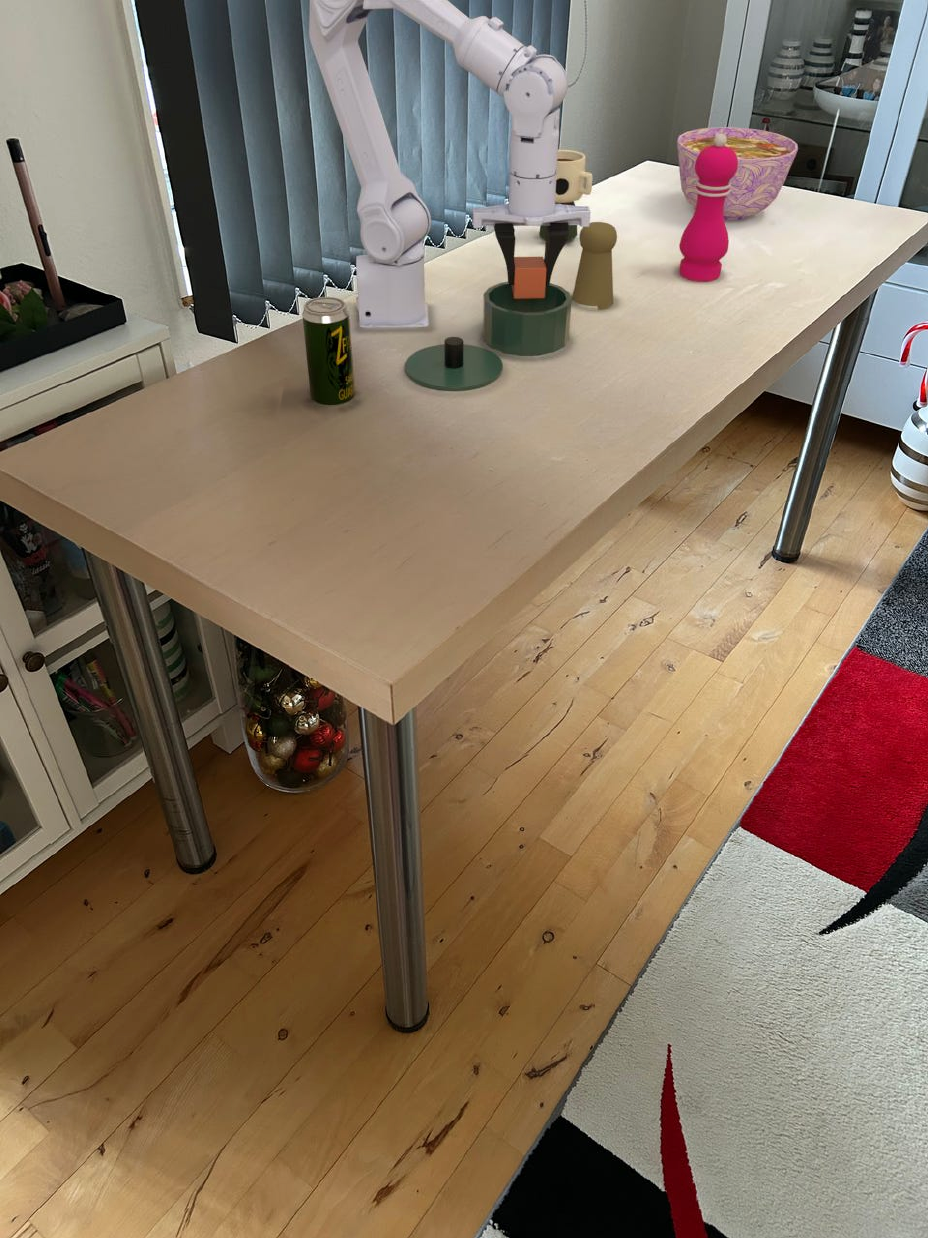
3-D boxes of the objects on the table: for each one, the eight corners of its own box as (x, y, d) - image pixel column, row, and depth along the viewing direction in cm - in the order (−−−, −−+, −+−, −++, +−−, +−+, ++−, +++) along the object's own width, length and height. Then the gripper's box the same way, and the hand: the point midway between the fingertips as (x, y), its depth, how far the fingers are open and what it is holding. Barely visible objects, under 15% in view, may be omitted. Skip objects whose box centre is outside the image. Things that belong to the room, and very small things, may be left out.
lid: (405, 396, 123) (404, 363, 121) (405, 351, 133) (404, 320, 130) (506, 394, 124) (507, 361, 121) (498, 350, 133) (499, 319, 131)
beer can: (303, 407, 121) (293, 311, 113) (321, 387, 125) (312, 293, 117) (345, 413, 120) (337, 317, 112) (362, 393, 124) (355, 299, 116)
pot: (485, 360, 131) (486, 314, 127) (480, 324, 140) (481, 280, 136) (572, 358, 132) (576, 313, 128) (562, 322, 140) (565, 279, 136)
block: (514, 298, 130) (515, 268, 127) (511, 286, 133) (512, 256, 130) (544, 298, 130) (546, 267, 127) (541, 286, 133) (543, 256, 130)
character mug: (518, 238, 166) (521, 154, 158) (541, 226, 171) (545, 144, 162) (575, 252, 161) (582, 166, 153) (597, 239, 166) (604, 155, 157)
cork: (611, 311, 143) (619, 233, 136) (569, 307, 144) (575, 230, 137) (615, 295, 148) (622, 218, 141) (574, 291, 149) (580, 215, 142)
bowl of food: (650, 199, 182) (658, 130, 175) (752, 191, 186) (764, 123, 178) (696, 236, 167) (707, 162, 160) (805, 227, 171) (821, 154, 163)
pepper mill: (670, 278, 153) (690, 137, 140) (681, 262, 158) (701, 124, 145) (718, 285, 151) (742, 143, 138) (727, 269, 156) (751, 130, 143)
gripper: (475, 182, 118) (474, 294, 127) (597, 181, 119) (587, 293, 128) (472, 165, 124) (471, 273, 133) (588, 163, 124) (580, 272, 133)
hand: (528, 282), depth 131 cm, fingers closed on block, 4 cm apart
